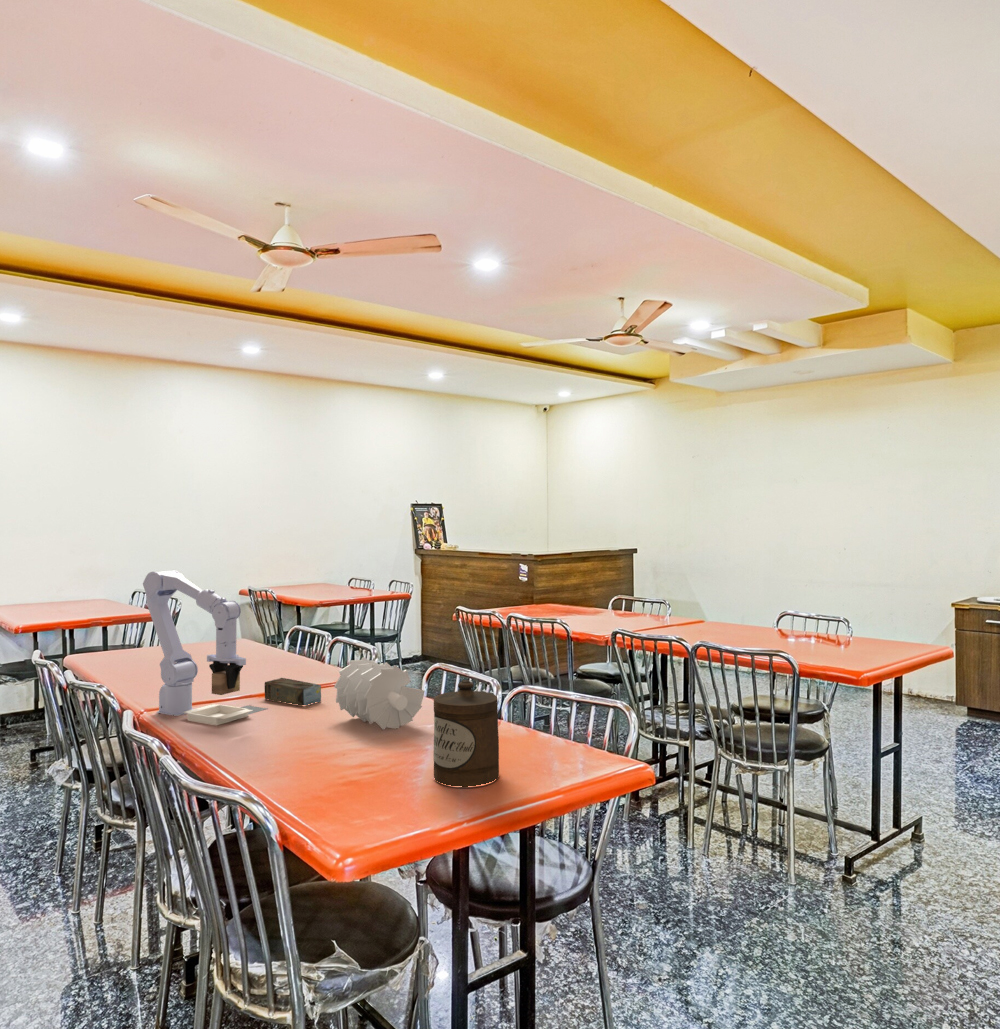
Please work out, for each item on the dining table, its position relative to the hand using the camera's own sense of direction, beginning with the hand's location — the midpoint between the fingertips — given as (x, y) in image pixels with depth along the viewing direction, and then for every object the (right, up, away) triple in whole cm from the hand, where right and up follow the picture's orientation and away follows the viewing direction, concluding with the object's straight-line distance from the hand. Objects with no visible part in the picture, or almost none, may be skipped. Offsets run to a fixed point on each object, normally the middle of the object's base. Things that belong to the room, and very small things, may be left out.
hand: (226, 687), depth 222 cm
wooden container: (+74, -8, -54) cm, 92 cm away
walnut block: (0, -1, 0) cm, 1 cm away
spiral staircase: (+46, -9, -6) cm, 48 cm away
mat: (+4, -9, +7) cm, 12 cm away
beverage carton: (+14, -10, +21) cm, 27 cm away
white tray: (-1, -9, -3) cm, 9 cm away
